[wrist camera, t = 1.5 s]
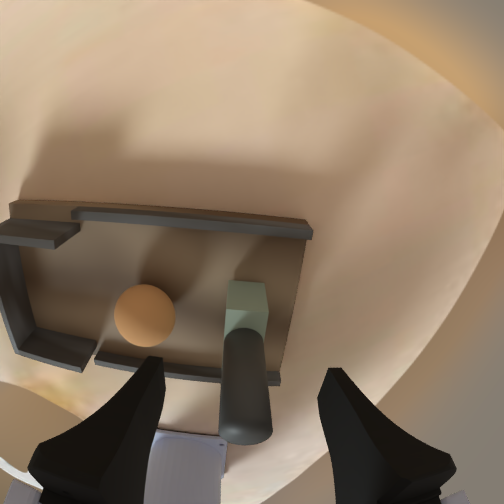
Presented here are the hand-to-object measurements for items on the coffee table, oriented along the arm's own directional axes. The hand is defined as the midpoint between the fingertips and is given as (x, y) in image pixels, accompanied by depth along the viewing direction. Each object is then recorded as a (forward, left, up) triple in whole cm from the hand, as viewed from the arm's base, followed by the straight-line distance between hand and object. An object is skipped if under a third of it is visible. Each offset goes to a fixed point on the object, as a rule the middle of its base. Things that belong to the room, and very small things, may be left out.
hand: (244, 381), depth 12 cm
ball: (0, +6, -4) cm, 7 cm away
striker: (0, 0, -6) cm, 6 cm away
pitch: (0, +7, -7) cm, 10 cm away
